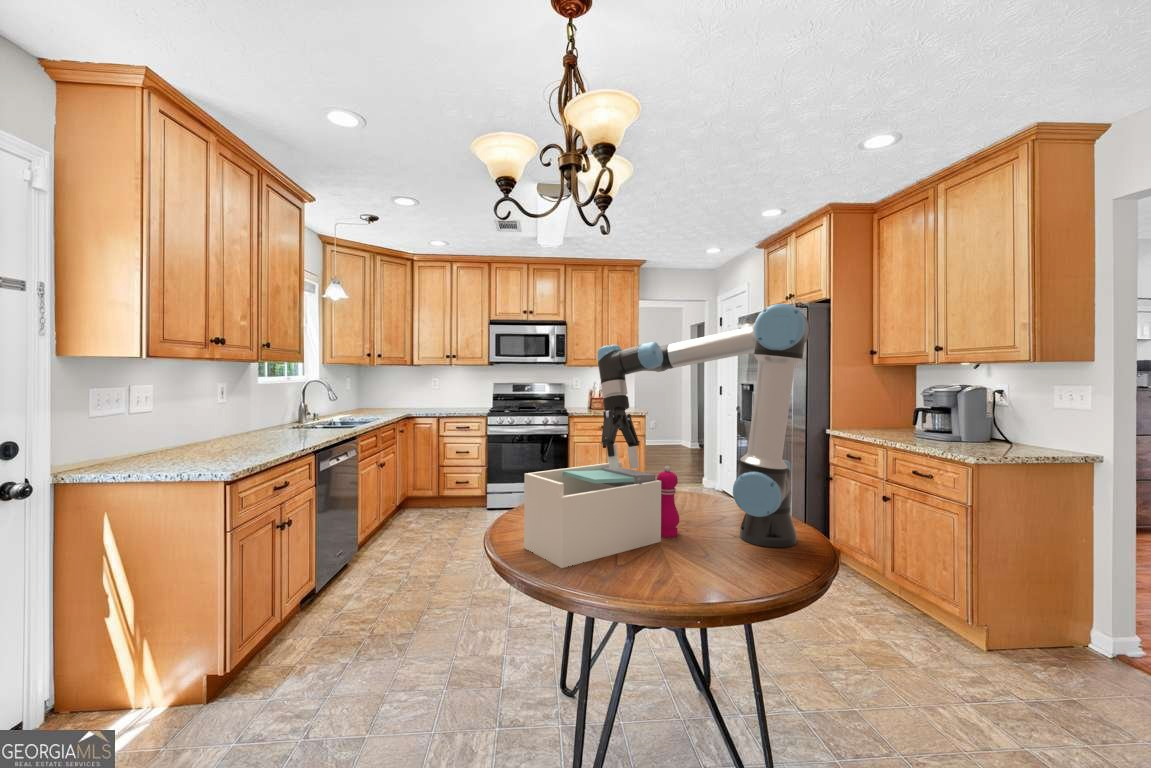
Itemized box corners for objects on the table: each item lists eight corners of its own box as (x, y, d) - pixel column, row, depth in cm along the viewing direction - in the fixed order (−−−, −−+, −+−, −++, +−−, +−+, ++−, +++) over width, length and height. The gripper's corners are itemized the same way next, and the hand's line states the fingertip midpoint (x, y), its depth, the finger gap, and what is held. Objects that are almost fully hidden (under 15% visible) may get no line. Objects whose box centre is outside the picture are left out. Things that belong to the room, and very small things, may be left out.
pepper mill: (664, 539, 144) (665, 469, 144) (649, 532, 150) (649, 465, 150) (684, 535, 147) (685, 467, 147) (668, 529, 154) (669, 463, 153)
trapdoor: (654, 490, 143) (655, 474, 143) (593, 494, 129) (594, 476, 130) (621, 482, 154) (622, 467, 154) (561, 484, 141) (563, 468, 141)
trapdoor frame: (662, 542, 141) (662, 470, 141) (563, 569, 121) (564, 485, 121) (617, 526, 156) (617, 461, 156) (522, 547, 136) (523, 473, 136)
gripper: (622, 403, 164) (631, 469, 159) (583, 394, 143) (592, 470, 138) (643, 398, 160) (653, 466, 156) (607, 388, 139) (617, 466, 135)
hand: (625, 468), depth 147 cm, fingers open, 13 cm apart
